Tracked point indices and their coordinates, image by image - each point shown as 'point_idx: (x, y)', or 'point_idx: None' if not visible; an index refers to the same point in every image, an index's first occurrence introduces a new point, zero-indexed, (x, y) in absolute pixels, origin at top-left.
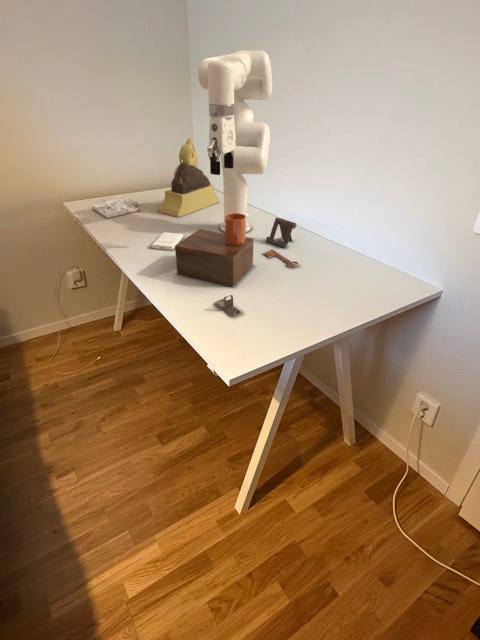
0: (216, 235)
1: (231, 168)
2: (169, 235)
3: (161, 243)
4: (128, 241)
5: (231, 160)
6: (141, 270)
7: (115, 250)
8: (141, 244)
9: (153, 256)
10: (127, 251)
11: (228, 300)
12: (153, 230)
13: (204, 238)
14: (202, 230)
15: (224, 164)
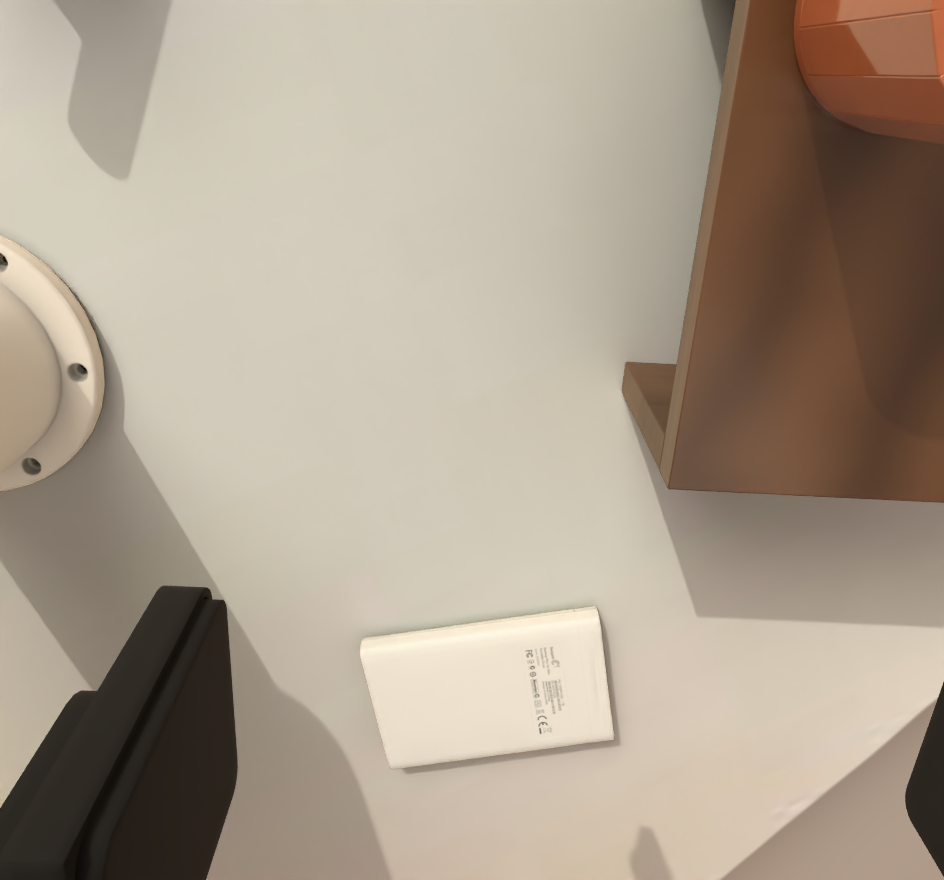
0: (796, 272)
1: (212, 609)
2: (426, 715)
3: (575, 698)
4: (558, 871)
5: (158, 762)
6: (937, 626)
7: (705, 865)
8: (574, 796)
9: (725, 659)
10: (698, 810)
11: None
12: (333, 839)
13: (897, 350)
14: (701, 449)
15: (216, 831)
